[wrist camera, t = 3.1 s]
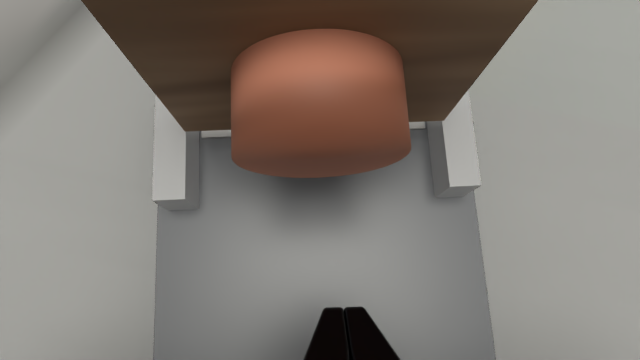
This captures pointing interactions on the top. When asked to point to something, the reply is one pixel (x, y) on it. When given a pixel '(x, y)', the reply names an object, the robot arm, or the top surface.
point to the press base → (318, 249)
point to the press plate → (310, 71)
